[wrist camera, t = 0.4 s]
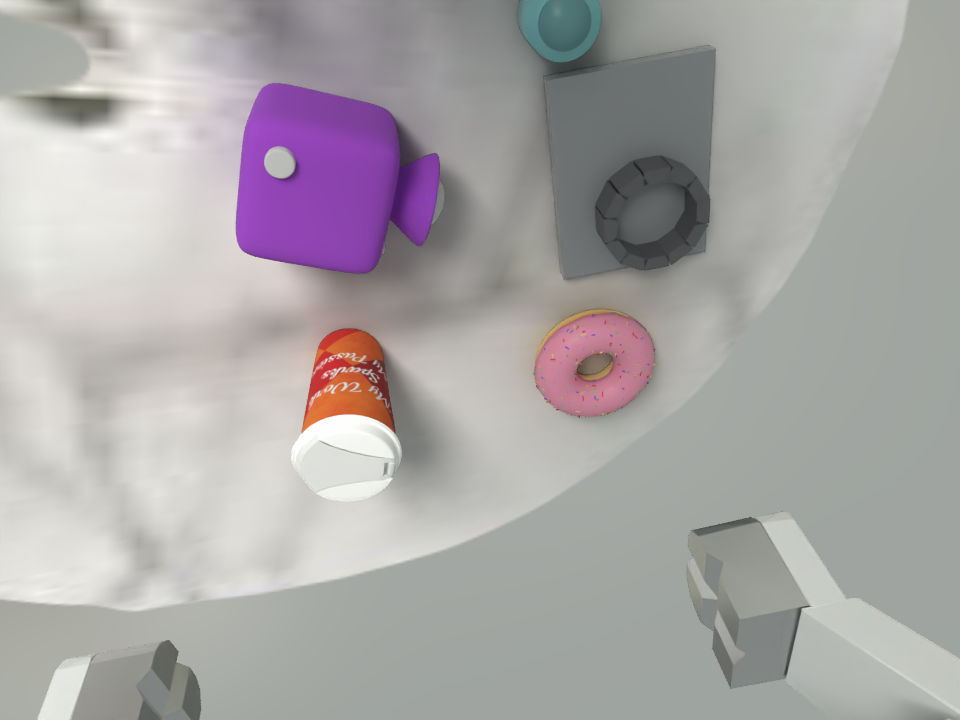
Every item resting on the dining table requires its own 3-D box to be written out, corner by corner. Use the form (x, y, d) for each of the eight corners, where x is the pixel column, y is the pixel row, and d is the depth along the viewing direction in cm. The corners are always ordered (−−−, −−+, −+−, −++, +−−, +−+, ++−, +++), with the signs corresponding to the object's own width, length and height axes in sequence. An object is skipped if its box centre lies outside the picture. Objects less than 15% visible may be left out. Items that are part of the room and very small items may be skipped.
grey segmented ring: (592, 167, 54) (601, 180, 52) (699, 147, 54) (712, 159, 52) (597, 263, 58) (606, 278, 56) (695, 244, 59) (707, 258, 57)
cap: (513, -21, 47) (524, -12, 44) (585, -35, 47) (600, -27, 44) (521, 56, 49) (531, 69, 46) (589, 43, 50) (603, 55, 47)
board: (543, 76, 50) (547, 80, 49) (708, 44, 51) (715, 48, 50) (560, 272, 60) (563, 279, 59) (699, 245, 60) (705, 251, 59)
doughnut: (670, 333, 66) (687, 359, 62) (594, 414, 70) (606, 443, 67) (582, 279, 61) (595, 305, 57) (506, 370, 65) (514, 398, 62)
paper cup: (399, 321, 60) (408, 429, 49) (389, 392, 65) (396, 507, 53) (304, 313, 59) (291, 424, 47) (300, 387, 63) (288, 505, 52)
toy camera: (435, 226, 56) (449, 290, 48) (254, 224, 54) (236, 291, 46) (441, 83, 50) (458, 129, 42) (237, 75, 48) (213, 121, 40)
